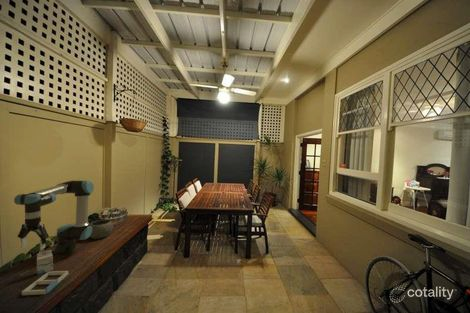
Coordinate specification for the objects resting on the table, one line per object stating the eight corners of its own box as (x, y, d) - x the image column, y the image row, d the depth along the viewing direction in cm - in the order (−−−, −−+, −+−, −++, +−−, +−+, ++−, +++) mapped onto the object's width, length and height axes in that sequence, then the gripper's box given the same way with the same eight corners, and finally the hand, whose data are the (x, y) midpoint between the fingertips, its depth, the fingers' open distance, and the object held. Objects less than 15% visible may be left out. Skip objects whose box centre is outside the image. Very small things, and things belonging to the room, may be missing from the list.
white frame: (48, 274, 145) (48, 270, 144) (69, 273, 146) (69, 269, 146) (21, 295, 124) (21, 289, 124) (46, 294, 126) (46, 288, 126)
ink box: (37, 275, 144) (37, 255, 143) (36, 272, 147) (36, 253, 146) (53, 270, 150) (52, 251, 150) (51, 267, 153) (51, 249, 153)
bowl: (117, 232, 219) (117, 219, 219) (100, 241, 197) (100, 227, 196) (100, 230, 223) (100, 217, 223) (81, 239, 201) (81, 225, 200)
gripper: (9, 218, 129) (10, 249, 129) (44, 220, 127) (44, 251, 128) (22, 214, 136) (22, 244, 137) (55, 216, 134) (56, 246, 135)
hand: (33, 248), depth 132 cm, fingers open, 13 cm apart
